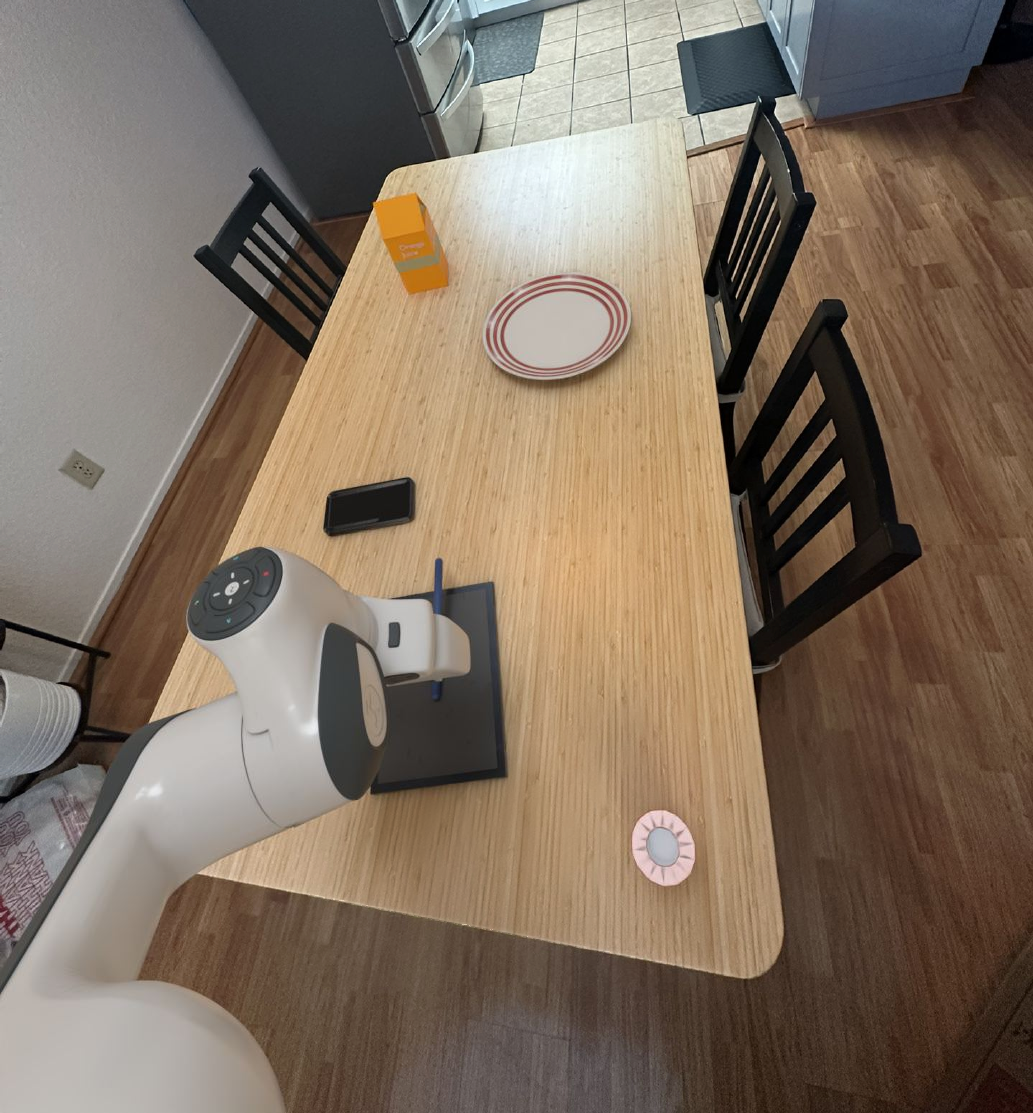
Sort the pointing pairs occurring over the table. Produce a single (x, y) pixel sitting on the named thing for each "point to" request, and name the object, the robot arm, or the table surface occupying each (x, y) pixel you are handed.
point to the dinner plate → (556, 326)
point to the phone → (370, 506)
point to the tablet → (450, 709)
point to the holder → (663, 847)
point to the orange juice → (412, 242)
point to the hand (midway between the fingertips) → (394, 680)
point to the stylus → (437, 612)
